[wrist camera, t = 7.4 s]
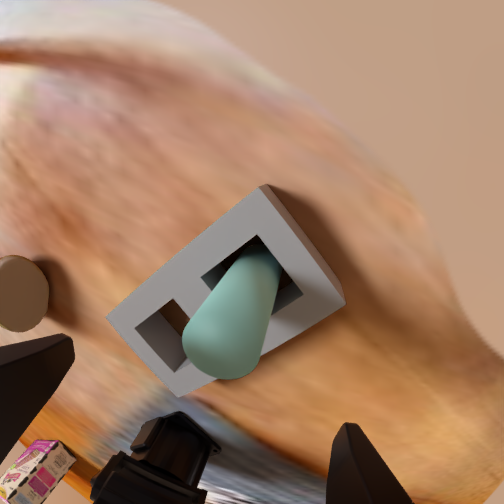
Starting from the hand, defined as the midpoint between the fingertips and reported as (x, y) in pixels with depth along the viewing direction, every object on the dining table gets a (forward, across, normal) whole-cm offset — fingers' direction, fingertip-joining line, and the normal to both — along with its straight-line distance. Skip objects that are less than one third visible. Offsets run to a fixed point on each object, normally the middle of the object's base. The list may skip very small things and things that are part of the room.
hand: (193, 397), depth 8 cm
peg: (+13, 0, 0) cm, 13 cm away
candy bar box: (+13, +28, +42) cm, 52 cm away
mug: (+13, +24, +8) cm, 28 cm away
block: (+13, +2, +3) cm, 13 cm away
